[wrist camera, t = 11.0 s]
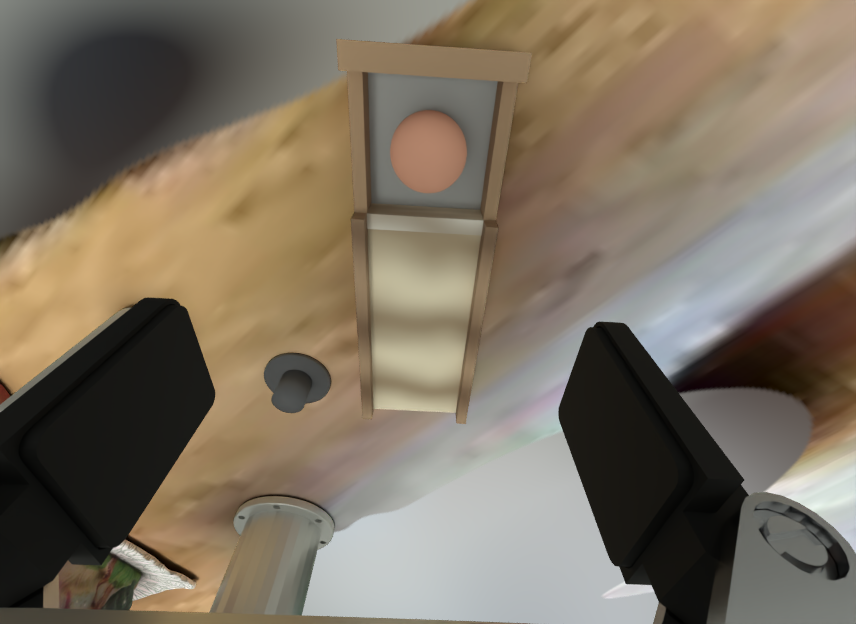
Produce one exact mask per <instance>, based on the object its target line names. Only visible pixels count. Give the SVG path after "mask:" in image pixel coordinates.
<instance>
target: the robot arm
mask: <svg viewBox="0 0 856 624" xmlns="http://www.w3.org/2000/svg"><path fill="white" fill-rule="evenodd" d="M214 400H215V389H214V386H213V383H212V380H211V378H210V375H209V372H208V369H207V366H206V363H205V360H204V357H203V354H202V352H201V349H200V346H199V343H198V340H197V337H196V334H195V331H194V328H193V325H192V323H191V320H190V317H189V314H188V311H187V309H186V308H185V307H184V306H180V304H179V303H178V302H177V301H176V300H174V299H164V298H144V299H142V300H140V301H139V302H138V303H137V304H135V305H134V306H133V307H132V308H130V309H129V310H128V311H127V312H125V313H124V314H123V315H122V316H120V317H119V318H118V319H117V320H115V321H114V322H113V323H112V324H110V325H109V326H108V327H107V328H105V329H104V330H103V331H102V332H100V333H99V334H98V335H97V336H95V337H94V338H93V339H92V340H90V341H89V342H88V343H87V344H85V345H84V346H83V347H82V348H80V349H79V350H78V351H77V352H75V353H74V354H73V355H72V356H70V357H69V358H68V359H67V360H65V361H64V362H63V363H62V364H60V365H59V366H58V367H57V368H55V369H54V370H53V371H52V372H50V373H49V374H48V375H47V376H45V377H44V378H43V379H42V380H40V381H39V382H38V383H37V384H35V385H34V386H33V387H32V388H30V389H29V390H28V391H27V392H25V393H24V394H23V395H21V396H20V397H19V398H18V399H16V400H15V401H14V402H13V403H11V404H10V405H9V406H8V407H6V408H5V409H4V410H3V411H1V412H0V624H527V623H500V622H475V621H473V622H472V621H448V620H420V619H391V618H389V619H388V618H359V617H330V616H302V612H303V608H304V604H305V600H306V595H307V591H308V587H309V583H310V578H311V574H312V570H313V566H314V561H315V557H316V553H317V550H318V549H321V548H323V547H324V546H326V545H327V544H328V543H329V542H330V541H331V539H332V537H333V533H334V523H333V521H332V519H331V517H330V516H329V515H328V514H327V513H326V512H325V511H323V510H322V509H321V508H319V507H317V506H315V505H314V504H311V503H309V502H306V501H303V500H299V499H296V498H290V497H283V496H266V497H260V498H256V499H252V500H250V501H248V502H246V503H244V504H243V505H241V506H240V507H239V509H238V510H237V512H236V515H235V517H234V520H233V522H234V527H235V529H236V531H237V532H238V534H239V535H240V538H239V541H238V543H237V546H236V548H235V551H234V553H233V556H232V558H231V561H230V563H229V565H228V568H227V570H226V573H225V575H224V578H223V580H222V583H221V585H220V587H219V590H218V592H217V595H216V597H215V600H214V602H213V605H212V607H211V610H210V612H209V613H203V612H167V611H130V610H94V609H60V608H59V572H60V570H61V569H62V568H63V566H64V565H65V564H66V562H67V561H69V562H70V563H71V564H73V565H102V564H103V562H104V561H105V559H106V558H107V556H108V555H109V553H110V552H111V550H112V549H113V548H115V547H117V546H119V545H120V544H121V543H122V542H123V541H124V540H125V539H126V537H127V536H128V534H129V533H130V531H131V530H132V528H133V527H134V525H135V524H136V522H137V521H138V519H139V518H140V516H141V514H142V513H143V511H144V510H145V508H146V507H147V505H148V504H149V502H150V501H151V499H152V498H153V496H154V494H155V493H156V491H157V490H158V488H159V487H160V485H161V484H162V482H163V481H164V479H165V477H166V476H167V474H168V473H169V471H170V470H171V468H172V467H173V465H174V464H175V462H176V461H177V459H178V457H179V456H180V454H181V453H182V451H183V450H184V448H185V447H186V445H187V444H188V442H189V441H190V439H191V437H192V436H193V434H194V433H195V431H196V430H197V428H198V427H199V425H200V424H201V422H202V421H203V419H204V417H205V416H206V414H207V413H208V411H209V410H210V408H211V407H212V405H213V403H214ZM559 421H560V424H561V427H562V429H563V432H564V435H565V438H566V440H567V443H568V446H569V448H570V451H571V454H572V457H573V460H574V462H575V465H576V468H577V471H578V473H579V476H580V479H581V482H582V484H583V487H584V490H585V492H586V495H587V498H588V501H589V504H590V506H591V509H592V512H593V514H594V517H595V520H596V523H597V526H598V528H599V531H600V534H601V537H602V539H603V542H604V545H605V548H606V551H607V553H608V556H609V558H610V560H611V561H612V563H613V564H614V565H615V566H619V567H620V569H621V572H622V575H623V577H624V580H625V583H626V584H640V585H652V587H653V589H654V592H655V594H656V596H657V599H658V601H659V604H658V607H657V611H656V615H655V618H654V622H653V624H856V553H855V552H854V550H853V549H852V547H851V546H850V544H849V543H848V542H847V541H846V540H845V539H844V538H843V537H842V535H841V534H840V533H839V532H838V531H837V530H836V529H835V528H834V527H833V526H831V525H830V524H829V523H828V522H826V521H825V520H824V519H823V518H821V517H820V516H819V515H818V514H816V513H815V512H813V511H811V510H810V509H808V508H806V507H805V506H803V505H801V504H800V503H798V502H795V501H793V500H791V499H788V498H786V497H784V496H781V495H776V494H772V493H768V492H761V493H753V494H751V495H748V494H747V492H746V491H745V490H744V488H743V487H742V486H741V484H742V482H743V481H744V479H743V477H742V476H741V475H740V473H739V472H738V471H737V470H736V468H735V467H734V466H733V464H732V463H731V462H730V460H729V459H728V458H727V456H725V454H724V452H723V451H722V450H721V448H720V447H719V446H718V445H717V443H716V442H715V441H714V439H713V438H712V437H711V435H710V434H709V433H708V431H707V430H706V429H705V427H704V426H703V425H702V424H701V422H700V421H699V420H698V418H697V417H696V416H695V414H694V413H693V412H692V410H691V409H690V408H689V406H688V405H687V404H686V402H685V401H684V400H683V399H682V397H681V396H680V395H679V393H678V392H677V391H676V389H675V388H674V387H673V385H672V384H671V383H670V381H669V380H668V379H667V377H666V376H665V375H664V373H663V372H662V371H661V370H660V368H659V367H658V366H657V364H656V363H655V362H654V360H653V359H652V358H651V356H650V355H649V354H648V352H647V351H646V350H645V348H644V347H643V346H642V345H641V343H640V342H639V341H638V339H637V338H636V337H635V335H634V334H633V333H632V331H631V330H630V329H629V327H628V326H627V325H626V324H624V323H615V322H597V323H596V324H595V325H594V327H590V328H588V329H587V330H586V332H585V335H584V338H583V341H582V344H581V346H580V349H579V352H578V355H577V358H576V361H575V363H574V366H573V369H572V372H571V375H570V377H569V380H568V383H567V386H566V389H565V392H564V394H563V397H562V400H561V403H560V406H559Z"/></svg>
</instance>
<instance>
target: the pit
mask: <svg viewBox="0 0 856 624" xmlns="http://www.w3.org/2000/svg"><path fill="white" fill-rule="evenodd" d="M336 40H337V57H338V70H341V71H347V81H348V100H349V119H350V138H351V157H352V176H353V195H354V212H357V213H367V212H368V210H369V208H370V205H371V203H376V204H393V205H409V206H426V207H442V208H459V209H475V210H480V211H481V214H482V217H483V220H490V221H496V217H497V211H498V205H499V199H500V193H501V187H502V180H503V174H504V168H505V162H506V156H507V150H508V144H509V137H510V131H511V125H512V119H513V113H514V107H515V101H516V95H517V88H518V83H527V80H528V74H529V68H530V63H531V57H532V53H528V52H514V51H500V50H485V49H471V48H457V47H442V46H428V45H414V44H399V43H385V42H370V41H356V40H342V39H336ZM423 110H435V111H439V112H442V113H444V114H446V115H448V116H449V117H451V118H452V119H453V120H454V121H455V122H456V123H457V124H458V125H459V127H460V128H461V130H462V132H463V134H464V137H465V140H466V145H467V158H466V163H465V167H464V169H463V171H462V173H461V175H460V176H459V178H458V179H457V180H456V181H455V182H454V183H453V184H452V185H451V186H450V187H448V188H447V189H445V190H443V191H440V192H437V193H421V192H417V191H414V190H412V189H410V188H409V187H407V186H406V185H405V184H404V183H403V182H402V181H401V180H400V179H399V178H398V176H397V175H396V173H395V171H394V169H393V166H392V163H391V158H390V146H391V141H392V137H393V135H394V132H395V130H396V129H397V127H398V126H399V124H400V123H401V122H402V121H403V120H404V119H405V118H406V117H408V116H409V115H411V114H413V113H415V112H418V111H423Z"/></svg>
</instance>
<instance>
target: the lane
mask: <svg viewBox="0 0 856 624" xmlns="http://www.w3.org/2000/svg"><path fill="white" fill-rule="evenodd" d="M498 228H499V227H498V225H497V222H496V221H490V220H483V217H482V214H481V211H480V210H475V209H459V208H442V207H426V206H409V205H393V204H376V203H371V205H370V208H369V210H368V212H367V213H357V212H354V214H353V216H352V218H351V229H352V246H353V263H354V280H355V297H356V314H357V332H358V349H359V366H360V383H361V400H362V417H363V419H372V415H373V409H389V410H410V411H430V412H451V413H456V423H459V424H466V418H467V412H468V406H469V400H470V394H471V388H472V382H473V376H474V371H475V365H476V359H477V353H478V347H479V341H480V335H481V329H482V323H483V317H484V311H485V305H486V299H487V294H488V288H489V282H490V276H491V270H492V264H493V258H494V252H495V246H496V240H497V234H498Z"/></svg>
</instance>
